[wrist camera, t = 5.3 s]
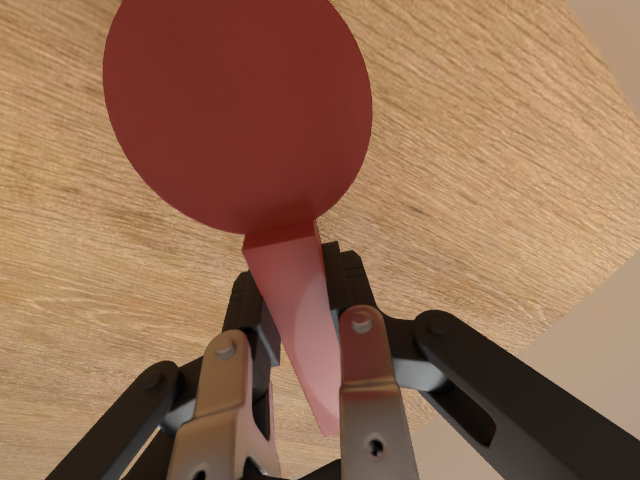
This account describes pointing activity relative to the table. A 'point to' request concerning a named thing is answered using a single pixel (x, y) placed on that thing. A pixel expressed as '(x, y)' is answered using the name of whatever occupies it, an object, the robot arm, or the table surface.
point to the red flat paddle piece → (250, 143)
